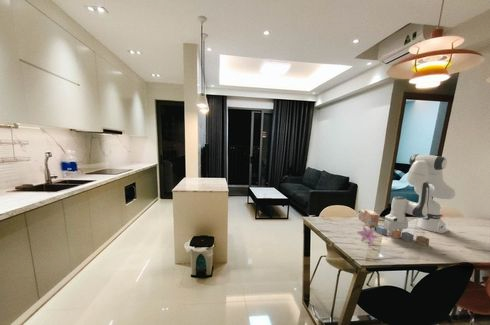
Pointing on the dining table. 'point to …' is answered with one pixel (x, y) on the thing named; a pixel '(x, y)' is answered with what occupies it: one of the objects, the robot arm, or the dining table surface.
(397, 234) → the terracotta cube
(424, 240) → the walnut cube
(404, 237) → the charcoal cube
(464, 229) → the dining table surface
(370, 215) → the stack of blocks
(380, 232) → the slate blue cube
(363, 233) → the lily
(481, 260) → the dining table surface
